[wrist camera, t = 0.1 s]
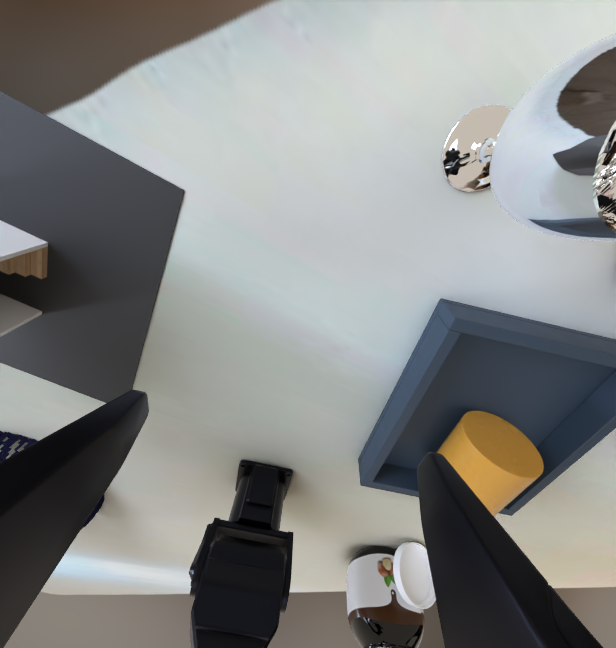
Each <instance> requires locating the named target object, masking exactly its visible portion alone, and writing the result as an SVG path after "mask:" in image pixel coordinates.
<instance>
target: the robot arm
mask: <svg viewBox="0 0 616 648" xmlns="http://www.w3.org/2000/svg"><path fill="white" fill-rule="evenodd" d="M148 413H149V407H148V398H147V394H146V392H143V391H138V390H131V391H128V392H127V393H125V394H123V395H121V396H119V397H118V398H116V399H114V400H112V401H110V402H108V403H107V404H105V405H103V406H101V407H99V408H98V409H96V410H94V411H92V412H90V413H89V414H87V415H85V416H83V417H81V418H80V419H78V420H76V421H74V422H72V423H71V424H69V425H67V426H65V427H63V428H62V429H60V430H58V431H56V432H54V433H53V434H51V435H49V436H47V437H45V438H43V439H42V440H40V441H38V442H36V443H34V444H33V445H31V446H29V447H27V448H25V449H24V450H22V451H20V452H18V453H16V454H15V455H13V456H11V457H9V458H7V459H6V460H4V461H2V462H0V648H4V646H5V644H6V643H7V641H8V640H9V638H10V637H11V635H12V634H13V632H14V631H15V629H16V628H17V626H18V625H19V623H20V621H21V620H22V618H23V617H24V615H25V614H26V612H27V611H28V609H29V608H30V606H31V605H32V603H33V601H34V600H35V599H36V597H37V595H38V594H39V592H40V591H41V589H42V588H43V586H44V585H45V583H46V582H47V580H48V579H49V577H50V576H51V574H52V572H53V571H54V569H55V568H56V566H57V565H58V563H59V562H60V560H61V559H62V557H63V556H64V554H65V553H66V551H67V549H68V548H69V546H70V545H71V543H72V542H73V540H74V539H75V537H76V536H77V534H78V533H79V531H80V530H81V528H82V526H83V525H84V523H85V522H86V520H87V519H88V517H89V516H90V514H91V513H92V511H93V510H94V508H95V507H96V505H97V503H98V502H99V500H100V499H101V497H102V496H103V494H104V493H105V491H106V490H107V488H108V487H109V485H110V484H111V482H112V480H113V479H114V477H115V476H116V474H117V473H118V471H119V469H120V468H121V466H122V464H123V463H124V461H125V459H126V457H127V455H128V453H129V451H130V449H131V447H132V446H133V444H134V442H135V440H136V438H137V436H138V434H139V432H140V430H141V428H142V426H143V424H144V422H145V420H146V418H147V416H148ZM292 475H293V471H292V470H290V469H286V468H281V467H276V466H271V465H266V464H261V463H256V462H251V461H246V460H242V461H240V464H239V470H238V477H237V483H236V491H237V492H236V496H235V499H234V503H233V506H232V510H231V513H230V517H229V521H225V520H220V518H215V519H214V521H213V523H212V524H208V525H207V528H206V531H205V534H204V537H203V540H202V543H201V545H200V547H199V549H198V552H197V554H196V556H195V558H194V561H193V563H192V565H191V567H190V571H189V575H190V577H191V580H192V581H191V586H192V587H191V591H190V597H194V598H195V600H194V603H193V607H192V611H191V622H190V642H191V648H269V645H270V643H271V641H272V639H273V637H274V635H275V633H276V631H277V628H278V624H279V616H280V613H285V610H286V606H287V602H288V596H289V590H290V582H291V569H292V549H293V532H283V531H279V528H280V521H281V514H282V507H283V500H284V499H285V497H286V494H287V491H288V488H289V485H290V482H291V478H292ZM417 479H418V490H419V501H420V512H421V521H422V528H423V534H424V539H425V544H426V550H427V555H428V560H429V566H430V571H431V576H432V581H433V587H434V592H435V597H436V602H437V607H438V613H439V618H440V623H441V628H442V633H443V639H444V644H445V648H603V647H602V646H601V645H600V643H599V642H598V641H597V640H596V639H595V638H594V637H593V635H592V634H590V632H589V631H588V630H587V629H586V627H585V626H584V625H583V624H582V623H581V621H580V620H579V619H578V618H577V617H576V616H575V614H574V613H573V612H572V611H571V610H570V608H569V607H568V606H567V605H566V604H565V603H564V601H563V600H562V599H561V598H560V596H559V595H558V594H557V593H556V592H555V591H554V589H553V588H552V587H551V586H550V585H548V582H547V581H546V580H545V578H544V577H543V576H542V575H541V573H540V572H539V571H538V570H537V569H536V567H535V566H534V565H533V564H532V563H531V561H530V560H529V559H528V558H527V556H526V555H525V554H524V553H523V552H522V550H521V549H520V548H519V547H518V546H517V544H516V543H515V542H514V541H513V539H512V538H511V537H510V536H509V535H508V533H507V532H506V531H505V530H504V529H503V527H502V526H501V525H500V524H499V522H498V521H497V520H496V519H495V518H494V516H493V515H492V514H491V513H490V512H489V510H488V509H487V508H486V507H485V505H484V504H483V503H482V502H481V501H480V499H479V498H478V497H477V496H476V495H475V493H474V492H473V491H472V490H471V488H470V487H469V486H468V485H467V484H466V482H465V481H464V480H463V479H462V478H461V476H460V475H459V474H458V473H457V471H456V470H455V469H454V468H453V467H452V465H451V464H450V463H449V462H448V460H447V459H446V458H445V457H444V456H443V455H442V454H439V453H434V452H428V453H427V454H426V456H425V457H424V458H423V460H422V461H421V463H420V464H419V466H418V468H417Z"/></svg>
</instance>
